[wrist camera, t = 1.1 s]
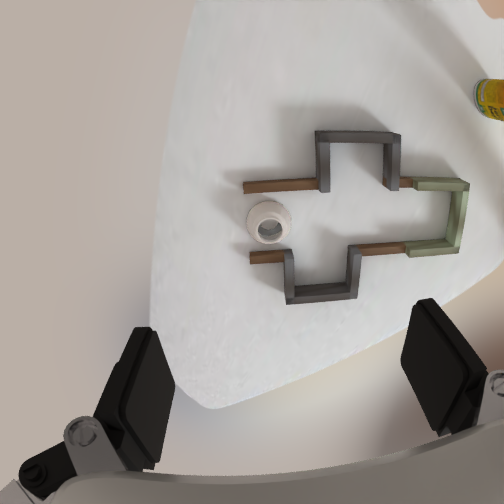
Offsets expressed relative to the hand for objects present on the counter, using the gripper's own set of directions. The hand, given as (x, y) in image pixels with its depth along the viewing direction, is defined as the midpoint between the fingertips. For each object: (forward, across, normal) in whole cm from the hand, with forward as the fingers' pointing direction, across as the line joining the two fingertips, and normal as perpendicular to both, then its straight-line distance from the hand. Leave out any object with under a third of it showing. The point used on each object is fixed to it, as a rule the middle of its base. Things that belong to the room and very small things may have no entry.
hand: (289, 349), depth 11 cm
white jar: (+26, 0, +4) cm, 26 cm away
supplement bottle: (+25, -30, -11) cm, 41 cm away
